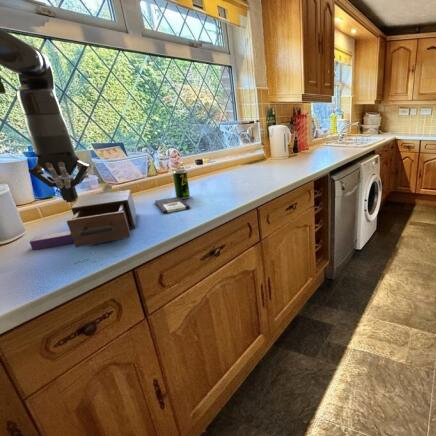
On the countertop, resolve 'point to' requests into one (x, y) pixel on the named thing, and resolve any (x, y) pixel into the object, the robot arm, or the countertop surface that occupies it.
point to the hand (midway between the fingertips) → (71, 201)
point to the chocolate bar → (171, 204)
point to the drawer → (99, 224)
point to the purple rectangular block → (51, 240)
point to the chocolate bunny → (106, 188)
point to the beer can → (181, 183)
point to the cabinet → (108, 203)
